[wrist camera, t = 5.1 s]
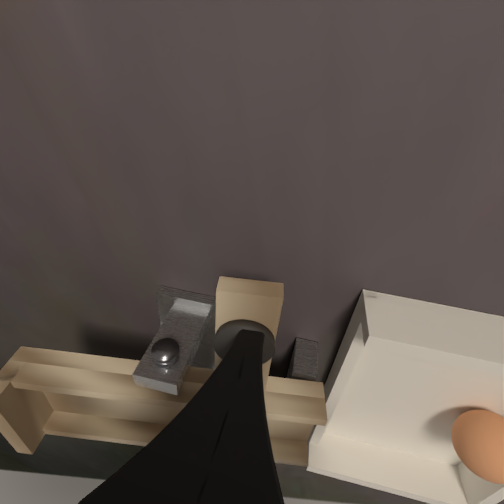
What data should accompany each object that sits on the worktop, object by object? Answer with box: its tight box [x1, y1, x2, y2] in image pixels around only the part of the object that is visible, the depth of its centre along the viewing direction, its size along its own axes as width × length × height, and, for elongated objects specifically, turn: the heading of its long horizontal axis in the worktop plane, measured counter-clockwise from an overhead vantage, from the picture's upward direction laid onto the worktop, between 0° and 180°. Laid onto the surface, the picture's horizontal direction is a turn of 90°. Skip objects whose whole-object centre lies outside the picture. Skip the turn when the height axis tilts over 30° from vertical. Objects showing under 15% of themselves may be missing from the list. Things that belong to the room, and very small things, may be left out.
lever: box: [0, 276, 328, 466], centre depth 13 cm, size 15×11×3 cm
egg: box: [451, 410, 504, 484], centre depth 15 cm, size 3×3×3 cm
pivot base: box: [132, 286, 318, 395], centre depth 17 cm, size 9×8×5 cm
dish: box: [306, 289, 504, 504], centre depth 16 cm, size 10×13×3 cm
